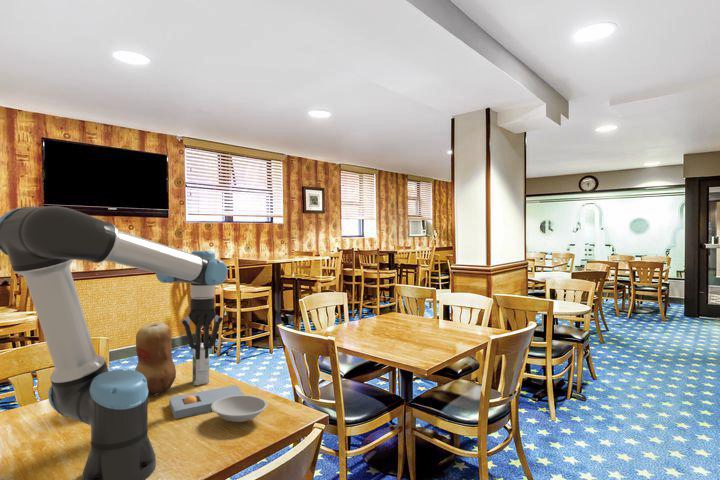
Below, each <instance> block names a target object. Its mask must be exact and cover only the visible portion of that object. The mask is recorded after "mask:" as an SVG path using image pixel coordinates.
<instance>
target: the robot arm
mask: <svg viewBox="0 0 720 480" xmlns="http://www.w3.org/2000/svg"><path fill="white" fill-rule="evenodd" d="M0 251H1V252H2V253H3V254H5V256H7V257H8V260H9V262H10V265H11V267H12V271H13V273H15V274H17V275H20V276H22V277H24V279H25V282H26V284H27V285H26V286H27V289H28V291H29V294H30V297H31V301H32V304H33V306H34V309H35V312H36V315H37V318H38V321H39V325H40V327H41V331H42V333H43V336H44V337H43V338H44V339H45V342H46V345H47V349H48V351H49V354H50V357H51V360H52V363H53V366H54V370H53V371H52V373H51V374H50V376H49V379H50V382H51V385H50V387H49V388H48V402H49V404H50V406H51V407H52V409H53V410H54V411H56V413H58V414H60V415H61V416H63V417H65V418H69V419H73V420H75V421H78V422H81V423H83V424H86V425H87V426H90V442H91V443H90V450H89V453H88V456H87V459H86V461H85V465H84V468H83V470H82V477H81V479H82V480H146V479H147V478H149V477H150V475H152V473H153V472H154V471H155V469H156V465H157V462H156V461H157V460H156V458H157V457H156V453H155V450H154V448H153V446H152V442H151V440H150V438H149V435H148V431H149V430H148V427H149V425H148V423H149V422H148V420H149V419H148V414H149V413H148V406H149V405H148V404H149V403H148V399H149V397H148V396H149V395H148V387H147V380H146V377H145V376H144V375H143V374H142V373H140V372H138V371H135V369H122V368H121V369H120V368H119V369H114V370H113V369H112V370H109V369H108V365H107V361H106V359H105V357H104V356H102V355H99V354H97V353H96V351H95V348H94V347H95V346H94V344H93V341H92V337H91V335H90V331H89V328H88V325H87V320H86V318H85V314H84V310H83V307H82V305H81V304H82V303H81V300H80V298H79V294H78V291H77V288H76V284H75V281H74V278H73V275H72V274H73V273H72V270H71V267H70V265H71V264H72V263H73V262H74V260H75V261H76V260H77V261H78V260H79V261H86V262H91V263H96V264H100V263H103V262H104V261H105V262H109V263H114V264H117V265H122V266H125V267H126V266H127V267H130V268H135V269H139V270H143V271H147V272H151V273H155V276H156V278H157V280H158V281H159V282H160V283H163V284H173V283H183V284H190V297H191V299H190V302H189V303H190V304H189V305H190V306H189V307H190V309H189V313H188V315H187V317H186V318H185V317H184V318H183V319H181V322H180V323H182V325H183V326H184V329H185V333H186V334H185V335H186V338H187V343H188V345H189V348H190V349H192V350H193V349H195V358H196V359H197V360H198V359H199V363H198V368H199V369H200V370H204V369H205V359H206V358H208V349H209V350H210V348H211V347H214V346H215V343H216V340H217V336H218V332H219V328H220V325H221V324H222V322H223V319H224V318H223V317H222V316H219V315H218V314H217V313H216V310H215V308H216V307H215V303H216V302H215V300H216V299H215V296H216V294H215V293H216V292H215V291H216V290H215V288H216V286H219V285H221V284H223V283H224V282H225V281H226V280H227V276H228V267H227V264H226V263H225V262H224V261H223V260H220V259H216V254H215V252H214V251H213V250H193V251H191V252H189V251H188V252H187V251H185V250H182V249H178V248H174V247H172V246H169V245H165V244H162V243H159V242H156V241H153V240H150V239H147V238H144V237H141V236H137V235H135V234H131V233H128V232H126V231H122V230H119V229H117V227H116V225H115V224H114V223H112V222H109V221H105V220H102V219H100V218H98V217H94V216H92V215H90V214H87V213H83V212H81V211H79V210H76V209H72V208H69V207H65V206H60V205H48V206H47V205H46V206H21V207H19V208H14V209H12V210H9V211H7V212H5V213H4V214H3V215H1V216H0ZM213 320H214V321H213ZM191 322H192V323H193V324H194V325H195V326H194V328H195V330H194V331H195V334H194V335H195V337H194V338H193V334H192V330H191V326H190V323H191ZM212 322H213V326H212V329H211V330H212V331H211V333H210V324H211V323H212ZM202 327H203V342H202V341H201V339H202V336H201V335H202V334H201V333H202V330H201V329H202ZM209 338H210V339H209ZM194 339H195V341H194ZM200 343H203V346H204V348H200Z"/></svg>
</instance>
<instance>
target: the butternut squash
mask: <svg viewBox="0 0 720 480" xmlns="http://www.w3.org/2000/svg"><path fill="white" fill-rule="evenodd" d="M172 344H173V340H172V330H171V327H170V326H169V325H168V324H167V323H164V322H154V323H150V324H146V325H144V326H141V328H139V329H138V330H137V332H136V336H135V351H136V355H137V365H136V366H135V369H134V371H138V372H140V373H142V374H143V375H144V376H145V377H146V380H147V387H148V396H157V395H158V394H160V393H165V392H166V391H168V390H169V389H170V388H172V385H173V383H174V382H175V379H176V378H177V377H176V376H177V370H176V367H175V366H176V365H175V363H174V360H173V353H172V352H173V348H172V346H173V345H172Z"/></svg>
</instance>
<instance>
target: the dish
mask: <svg viewBox="0 0 720 480" xmlns="http://www.w3.org/2000/svg"><path fill="white" fill-rule="evenodd" d="M267 408H268V402H267V400H265V399H264V398H262V397H260V396H255V395H248V394H244V395H235V396H228V397H224V398H221V399H218V400H216V401H215V402H213V403H212V405H211V409H212V410H213V411H212V412H214V413H215V414H217V415H218V416H219V417H220V418H221V419H224V420H226V421H228V422H232V423H242V422H247V421H251V420H253V419H255V418H257V417H258V416H259V415H260V414H261V413H263V411H265V410H267Z"/></svg>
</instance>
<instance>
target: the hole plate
mask: <svg viewBox="0 0 720 480" xmlns="http://www.w3.org/2000/svg"><path fill="white" fill-rule="evenodd" d="M190 395H192V396H195V397H196V399H197V402H196V403H191V404H186V405H184V399H185V398H186V397H187V396H190ZM235 395H245V394H244V393H243V391H242V390H241V389H240V388H239V386H238V385H237V384H234V385H230V386H224V387H222V386H221V387H217V388H211V389H208V390H203V391H202V390H201V391H196V392H192V393H186V394H182V395H176V396H169V399H168V402H169V404H168V406H169V408H170V410H171V411H170V412H171V413H172V416H173V419H174V420H177V419H182V418H188V417H189V416H190V417H191V416H196V415H200V413H201V414H205V413H208V412H207V411H210V412H212V411H211V410H212V409H211V405H212V403H213V402H215V401H216V400H218V399H221V398H224V397H228V396H235ZM204 412H205V413H204Z"/></svg>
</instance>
